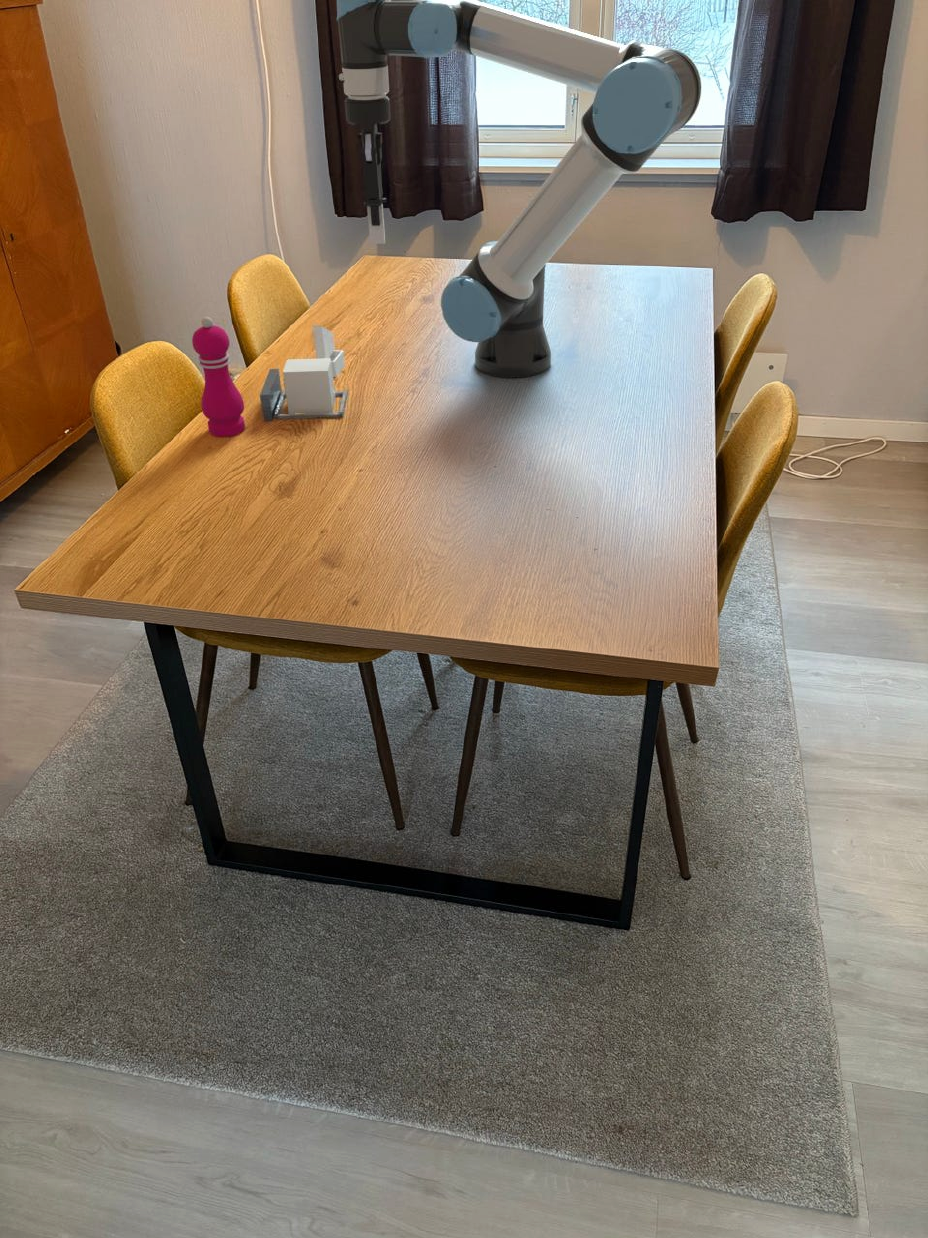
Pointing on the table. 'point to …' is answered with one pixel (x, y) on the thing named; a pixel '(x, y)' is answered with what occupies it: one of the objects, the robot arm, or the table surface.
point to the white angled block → (328, 349)
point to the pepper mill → (218, 381)
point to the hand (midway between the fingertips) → (377, 242)
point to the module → (309, 385)
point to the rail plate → (275, 399)
